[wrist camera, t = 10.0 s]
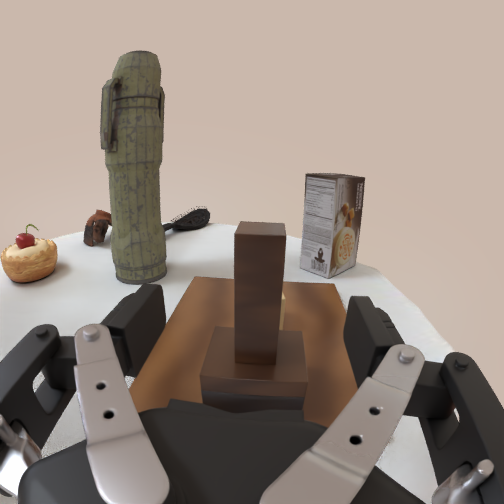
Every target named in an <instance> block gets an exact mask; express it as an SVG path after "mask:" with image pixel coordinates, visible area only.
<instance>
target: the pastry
mask: <svg viewBox="0 0 504 504" xmlns="http://www.w3.org/2000/svg"><path fill="white" fill-rule="evenodd" d="M28 226H33V227H34V228H36V227H35V226H34V225H32V224H29V225H27V226H26V233H21V234H19V235H18V236H17V237H16V243H15V244H14V245H13V246H11V245H10V246H9V247H8V248H5V250H3V252H2V254H1V262H2V266H3V269H4V271H5V273H6V274H7V276H8V277H9V278H10V279H11V280H12V281H15V282H30V281H35V280H38V279H41V278H43V277H46V276H48V275H49V274H50V273H52V272H53V270H54V268H55V266H56V263H57V246H56V244H55V243H54V242H53V241H52V240H51V241H50V240H49V239H48V240H47V241H46V240H45V239H41V240H39V239H38V238H36V239H35V238H34V236H33V235H31V234H28V233H27V227H28ZM36 229H37V228H36ZM37 230H38V229H37Z"/></svg>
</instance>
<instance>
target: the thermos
mask: <svg viewBox="0 0 504 504" xmlns="http://www.w3.org/2000/svg"><path fill="white" fill-rule="evenodd" d="M160 79H161V68H160V64H159V61H158V58H157V55H156V54H153V53H151V52H148V51H132V52H129V53H126V54H124V55H122V56H121V57H120V58H119V60H118V62H117V64H116V66H115V69H114V71H113V74H112V79H110V80H108V81H107V82H106V84H105V85H104V87H103V88H102V102H101V127H100V136H101V149H105V161H106V162H105V164H106V167H107V169H108V171H109V189H110V204H111V218H112V232H111V236H110V242H111V250H112V258H113V262H114V264H115V269H116V277H117V279H118V280H119V281H121V282H123V283H127V284H144V283H150V282H154V281H156V280H159V279H161V278H162V277H164V276H165V275H166V273H167V268H166V262H165V260H166V257H167V256H166V242H165V231H164V228H163V226H162V224H161V215H160V214H161V213H160V185H159V167H160V165H161V162H162V143H163V128H164V124H163V123H164V99H165V95H164V91H163V88H162V87H161V86H160V81H161V80H160Z"/></svg>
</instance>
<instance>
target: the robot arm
mask: <svg viewBox="0 0 504 504" xmlns="http://www.w3.org/2000/svg"><path fill="white" fill-rule="evenodd" d="M165 325H166V313H165V305H164V296H163V289H162V286H161V285H157V284H146V283H144V284H143V285H142V286H141V287H140V288H139V289H138V290H137V291H136V293H132V294H130V295H128V296H126V297H124V298H123V299H122V300H121V301H120V302H119V303H118V305H117V306H116V307H115V308H114V310H112V311H111V312H110V313H109V314H108V315H107V316H106V318H105V319H104V320H103V321H102V322H101V323H100V324H89V325H86V326H84V327H82V328H80V329H79V330H78V331H77V332H76V333H75V336H59V333H58V330H57V328H56V327H55V326H54V325H51V324H44V325H40V326H37V327H35V328H33V329H32V330H31V331H30V332H29V333H28V334H27V335H26V336H25V337H24V338H23V339H22V340H21V341H20V342H19V343H18V344H17V345H16V346H15V347H14V348H13V349H12V350H11V351H10V352H9V353H8V354H7V355H6V356H5V358H4V359H3V360H2V361H1V362H0V494H2V495H4V496H7V497H12V496H13V497H15V498H16V499H18V504H426V503H425V502H423V501H422V500H420V499H419V498H418V497H416V496H415V495H413V494H412V493H411V492H409V491H408V490H406V489H405V488H404V487H402V486H401V485H400V484H398V483H397V482H396V481H394V480H393V479H392V478H391V477H389V476H388V475H387V474H385V473H384V472H383V471H382V470H380V469H379V468H378V467H377V466H375V464H376V462H377V461H378V459H379V457H380V456H381V454H382V452H383V451H384V449H385V447H386V445H387V444H388V442H389V440H390V438H391V436H392V434H393V432H394V431H395V429H396V427H397V425H398V423H399V421H400V419H401V417H402V415H406V416H414V417H418V418H419V421H420V425H421V428H422V431H423V434H424V437H425V440H426V444H427V447H428V450H429V454H430V457H431V461H432V464H433V468H434V472H435V476H436V479H437V483H438V488H437V489H436V490H435V492H434V494H433V496H432V504H504V409H503V407H502V405H501V403H500V402H499V400H498V398H497V396H496V395H495V393H494V391H493V390H492V388H491V386H490V385H489V383H488V381H487V380H486V378H485V377H484V375H483V374H482V372H481V370H480V369H479V367H478V366H477V364H476V363H475V361H474V360H473V359H472V358H471V357H469V356H468V355H466V354H463V353H459V352H452V353H449V354H448V355H447V356H446V357H445V359H444V362H443V363H437V362H430V361H425V358H424V355H423V354H422V352H421V351H420V350H418V349H417V348H415V347H413V346H410V345H405V343H404V341H403V339H402V338H401V336H400V334H399V333H398V331H397V329H396V328H395V326H394V324H393V322H392V321H391V319H390V317H389V316H388V314H387V313H386V312H384V311H383V310H382V309H380V308H375V307H374V305H373V303H372V301H371V300H370V298H369V297H368V296H351V297H350V300H349V304H348V310H347V315H346V319H345V324H344V330H343V340H344V344H345V347H346V350H347V354H348V357H349V360H350V364H351V367H352V370H353V374H354V377H355V381H356V384H357V388H358V390H357V392H356V393H355V395H354V396H353V397H352V399H351V400H350V401H349V403H348V404H347V405H346V406H345V408H344V409H343V410H342V412H341V413H340V414H339V415H338V417H337V418H336V419H335V420H334V422H333V423H332V424H331V425H330V427H329V428H327V427H325V426H323V425H321V424H318V423H315V422H312V421H308V420H304V410H274V409H269V410H262V411H254V412H245V413H231V412H227V411H224V410H221V409H218V408H215V407H212V406H209V405H206V404H203V403H197V402H190V401H184V400H178V399H172V398H170V400H169V403H168V405H167V407H160V408H153V409H148V410H145V411H142V412H139V413H137V410H136V408H135V405H134V403H133V400H132V397H131V395H130V392H129V389H128V387H127V384H126V381H125V376H130V377H135V378H137V376H138V374H139V372H140V371H141V369H142V367H143V365H144V364H145V362H146V360H147V358H148V357H149V355H150V353H151V351H152V350H153V348H154V346H155V344H156V343H157V341H158V339H159V337H160V336H161V334H162V332H163V331H164V328H165ZM40 371H42V373H43V375H44V377H45V379H44V381H43V382H42V383H41V385H40V386H39V388H38V389H37V390H36V392H35V393H34V391H33V381H34V379H35V377H36V376H37V375H38V373H39V372H40ZM76 390H77V395H78V401H79V406H80V412H81V417H82V422H83V427H84V431H85V435H86V439H85V440H83V441H81V442H79V443H77V444H75V445H72V446H70V447H68V448H66V449H64V450H61V451H59V452H57V453H55V454H52V455H50V456H48V457H45V458H43V459H42V454H41V450H42V448H43V446H44V445H45V443H46V441H47V439H48V437H49V436H50V434H51V432H52V430H53V429H54V427H55V425H56V423H57V422H58V420H59V418H60V417H61V415H62V413H63V412H64V410H65V408H66V407H67V405H68V403H69V402H70V400H71V398H72V397H73V395H74V394H75V392H76ZM455 408H456V409H457V411H458V414H459V422H458V420H457V417H456V415H455V413H454V409H455Z"/></svg>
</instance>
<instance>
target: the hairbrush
mask: <svg viewBox="0 0 504 504" xmlns="http://www.w3.org/2000/svg"><path fill="white" fill-rule="evenodd" d="M209 219H210V213H209V211H208V210H207V209H197V210H194V211H192V212H190V213H188V214H187V215H185V216H184V217H182V218H180V219H179V220H177V221H176V220H175V222H174V223H172V222H171V223H167V224H164V225H162V226H163V228H164V231H165V232H166V231H167V230H169V229H171V228H177V229H187V230H193V229H199V228H202V227H204V226H205V225H206V224H207V223H208V222H209ZM171 221H172V220H171Z"/></svg>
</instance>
